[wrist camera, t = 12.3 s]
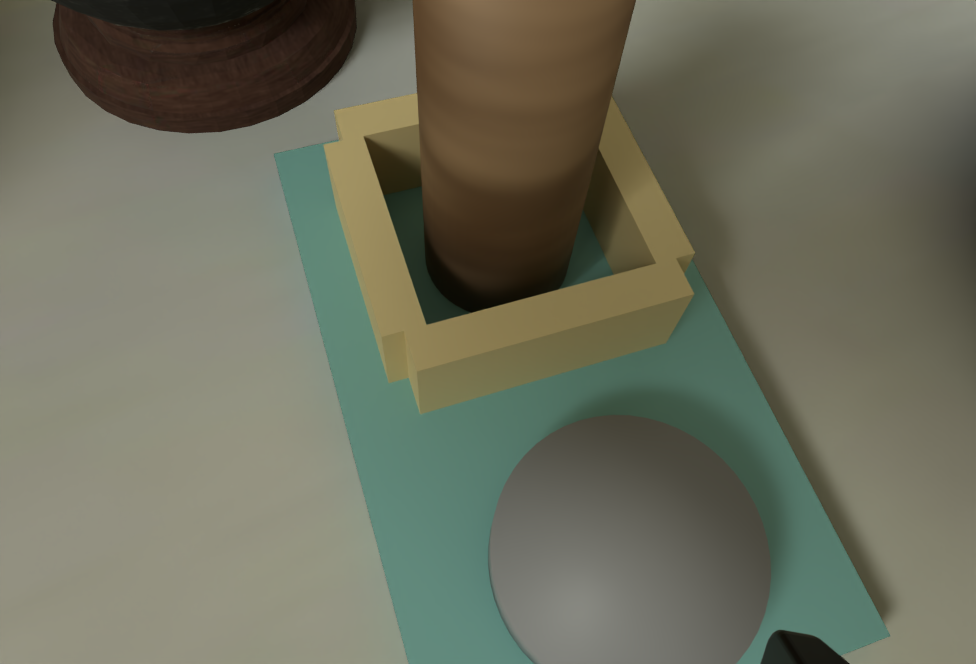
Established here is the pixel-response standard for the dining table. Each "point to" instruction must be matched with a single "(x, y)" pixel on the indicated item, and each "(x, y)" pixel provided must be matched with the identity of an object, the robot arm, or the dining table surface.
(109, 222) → the dining table surface
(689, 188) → the dining table surface
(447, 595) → the carrier plate
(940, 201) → the dining table surface
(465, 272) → the walnut dowel
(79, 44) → the black ball on stand
